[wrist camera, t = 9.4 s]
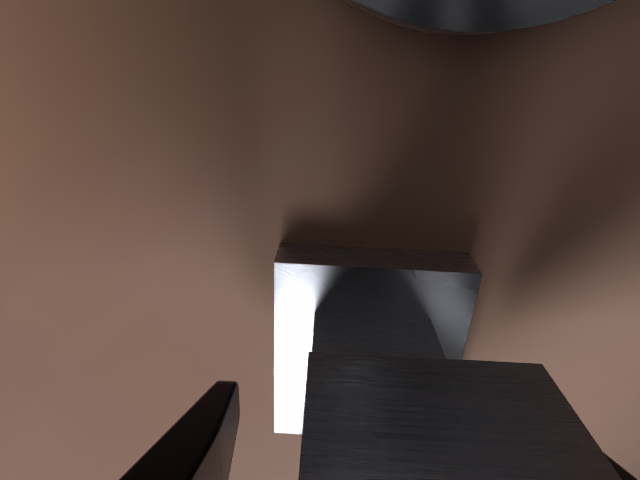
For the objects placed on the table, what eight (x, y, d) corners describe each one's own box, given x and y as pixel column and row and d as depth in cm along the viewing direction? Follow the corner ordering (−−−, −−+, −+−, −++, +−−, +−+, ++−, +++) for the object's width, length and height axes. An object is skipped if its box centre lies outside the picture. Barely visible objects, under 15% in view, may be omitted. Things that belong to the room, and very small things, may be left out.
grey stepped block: (428, 436, 12) (540, 872, 6) (278, 428, 12) (217, 852, 6) (476, 213, 9) (821, 579, 3) (279, 202, 9) (157, 542, 3)
